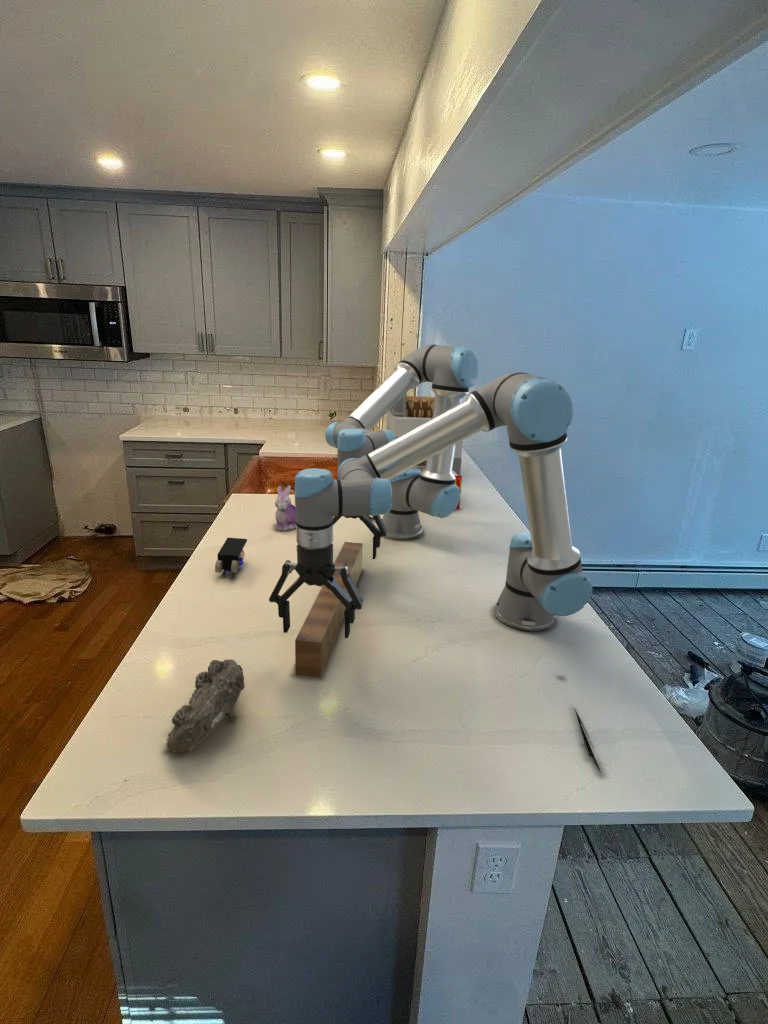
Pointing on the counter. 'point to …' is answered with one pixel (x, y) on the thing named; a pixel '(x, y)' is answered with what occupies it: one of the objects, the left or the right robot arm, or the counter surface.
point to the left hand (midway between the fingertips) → (351, 555)
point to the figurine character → (230, 556)
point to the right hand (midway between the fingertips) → (316, 632)
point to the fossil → (206, 705)
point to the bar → (325, 618)
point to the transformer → (416, 421)
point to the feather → (587, 741)
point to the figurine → (285, 510)
